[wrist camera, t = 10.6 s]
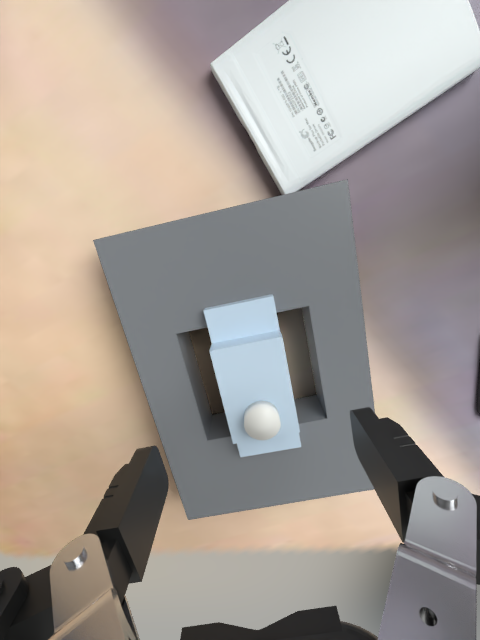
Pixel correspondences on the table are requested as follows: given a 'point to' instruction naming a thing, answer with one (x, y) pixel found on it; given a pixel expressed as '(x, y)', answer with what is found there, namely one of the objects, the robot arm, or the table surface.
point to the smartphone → (478, 392)
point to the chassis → (289, 293)
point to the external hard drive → (341, 76)
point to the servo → (253, 375)
